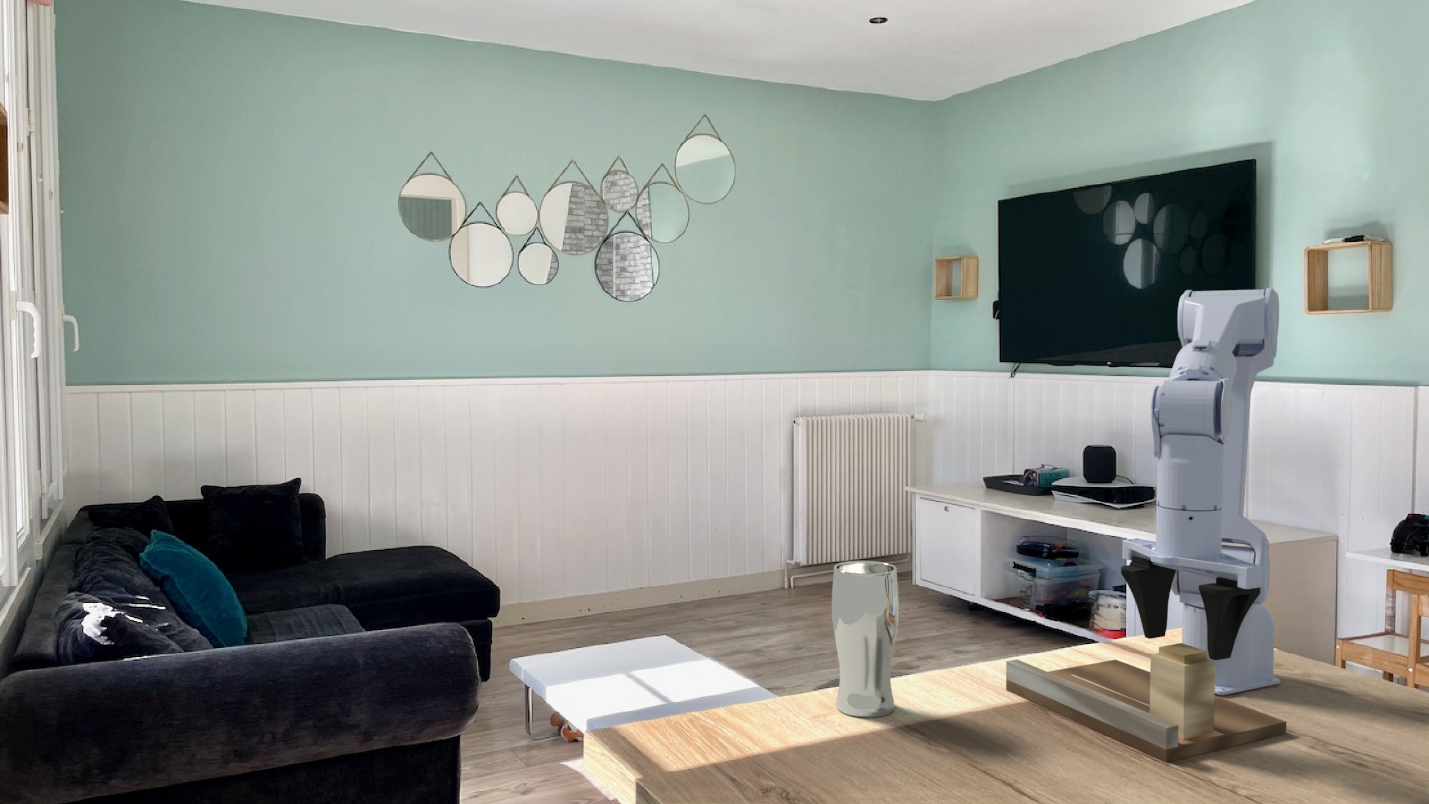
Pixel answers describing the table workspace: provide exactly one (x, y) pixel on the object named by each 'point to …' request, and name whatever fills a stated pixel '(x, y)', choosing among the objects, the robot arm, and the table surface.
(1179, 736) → the tan block
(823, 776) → the table surface
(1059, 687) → the board
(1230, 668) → the robot arm
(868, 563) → the beer glass
